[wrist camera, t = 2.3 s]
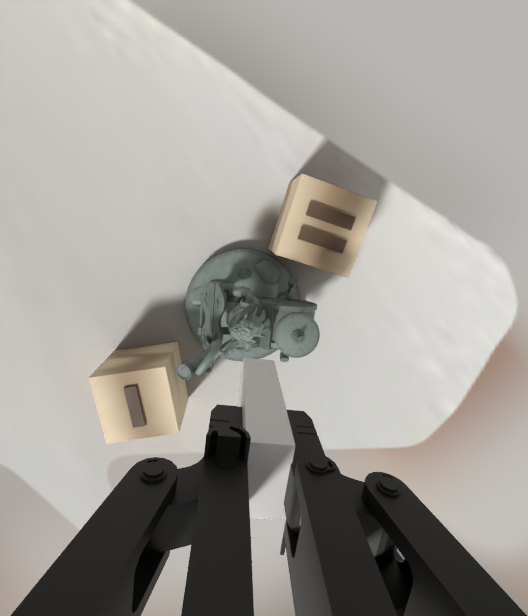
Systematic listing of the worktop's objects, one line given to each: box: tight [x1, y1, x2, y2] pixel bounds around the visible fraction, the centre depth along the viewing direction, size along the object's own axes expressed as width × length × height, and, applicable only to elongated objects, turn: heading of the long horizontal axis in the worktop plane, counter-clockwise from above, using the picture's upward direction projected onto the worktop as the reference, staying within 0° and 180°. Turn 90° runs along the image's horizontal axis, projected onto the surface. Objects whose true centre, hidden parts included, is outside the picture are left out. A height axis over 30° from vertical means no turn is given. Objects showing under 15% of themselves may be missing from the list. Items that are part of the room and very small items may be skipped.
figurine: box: [176, 249, 320, 380], centre depth 27 cm, size 11×11×12 cm
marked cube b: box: [268, 174, 378, 278], centre depth 28 cm, size 6×6×6 cm
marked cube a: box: [89, 342, 189, 444], centre depth 31 cm, size 6×6×6 cm
